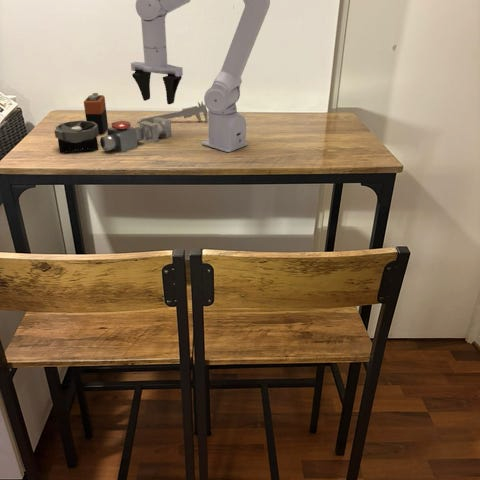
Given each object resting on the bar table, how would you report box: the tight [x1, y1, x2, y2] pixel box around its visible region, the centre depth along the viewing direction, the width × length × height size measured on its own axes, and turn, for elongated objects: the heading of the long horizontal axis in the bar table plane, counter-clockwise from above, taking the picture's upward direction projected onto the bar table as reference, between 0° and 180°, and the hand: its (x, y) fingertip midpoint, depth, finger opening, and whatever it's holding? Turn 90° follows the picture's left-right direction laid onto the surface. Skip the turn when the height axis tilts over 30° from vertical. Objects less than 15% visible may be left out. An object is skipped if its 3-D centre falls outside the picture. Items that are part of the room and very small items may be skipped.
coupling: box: [138, 117, 172, 144], centre depth 130 cm, size 7×5×5 cm, turn 143°
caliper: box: [136, 101, 208, 124], centre depth 143 cm, size 21×1×6 cm, turn 96°
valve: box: [99, 120, 144, 153], centre depth 123 cm, size 11×5×6 cm, turn 140°
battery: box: [83, 92, 109, 135], centre depth 133 cm, size 4×7×10 cm, turn 3°
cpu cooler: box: [54, 120, 100, 154], centre depth 123 cm, size 10×6×10 cm
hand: (158, 101), depth 128 cm, fingers open, 7 cm apart
